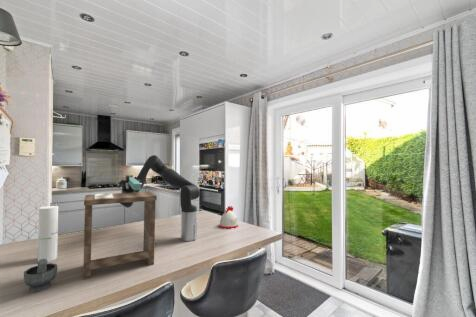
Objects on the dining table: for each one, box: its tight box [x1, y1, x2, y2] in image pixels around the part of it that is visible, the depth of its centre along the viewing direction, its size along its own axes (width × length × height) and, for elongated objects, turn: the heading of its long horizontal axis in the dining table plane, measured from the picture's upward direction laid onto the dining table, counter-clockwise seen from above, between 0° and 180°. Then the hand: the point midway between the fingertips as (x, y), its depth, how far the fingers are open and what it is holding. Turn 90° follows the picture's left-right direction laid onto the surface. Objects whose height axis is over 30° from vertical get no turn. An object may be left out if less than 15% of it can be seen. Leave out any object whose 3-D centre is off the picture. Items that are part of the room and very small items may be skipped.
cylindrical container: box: [37, 205, 59, 263], centre depth 110 cm, size 7×7×25 cm
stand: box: [82, 191, 158, 281], centre depth 105 cm, size 28×16×32 cm, turn 122°
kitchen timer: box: [219, 205, 239, 230], centre depth 171 cm, size 14×14×15 cm
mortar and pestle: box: [23, 259, 58, 293], centre depth 85 cm, size 11×9×12 cm
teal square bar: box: [128, 176, 142, 191], centre depth 121 cm, size 3×26×3 cm, turn 32°
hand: (132, 178), depth 127 cm, fingers closed on teal square bar, 3 cm apart
